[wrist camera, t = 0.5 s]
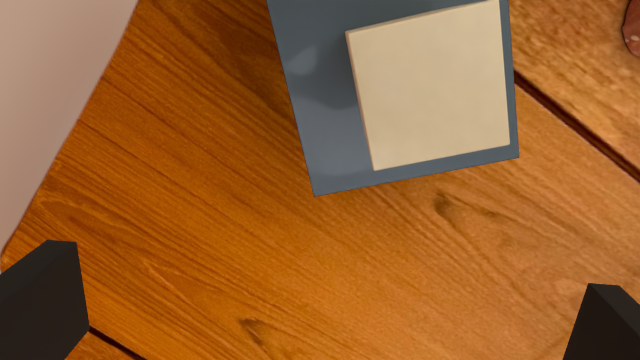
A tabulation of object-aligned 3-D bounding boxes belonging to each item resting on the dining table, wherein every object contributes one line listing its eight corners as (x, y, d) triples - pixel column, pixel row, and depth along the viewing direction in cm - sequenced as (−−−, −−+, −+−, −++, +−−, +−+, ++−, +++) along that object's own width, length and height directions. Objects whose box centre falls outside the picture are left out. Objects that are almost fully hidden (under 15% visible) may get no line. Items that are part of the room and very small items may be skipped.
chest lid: (235, -136, 22) (199, -190, 16) (487, -209, 20) (541, -297, 15) (314, 192, 28) (308, 232, 22) (514, 154, 26) (560, 187, 21)
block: (344, 31, 24) (347, 33, 14) (434, 10, 23) (499, -2, 14) (361, 118, 25) (373, 171, 16) (445, 100, 25) (510, 145, 15)
